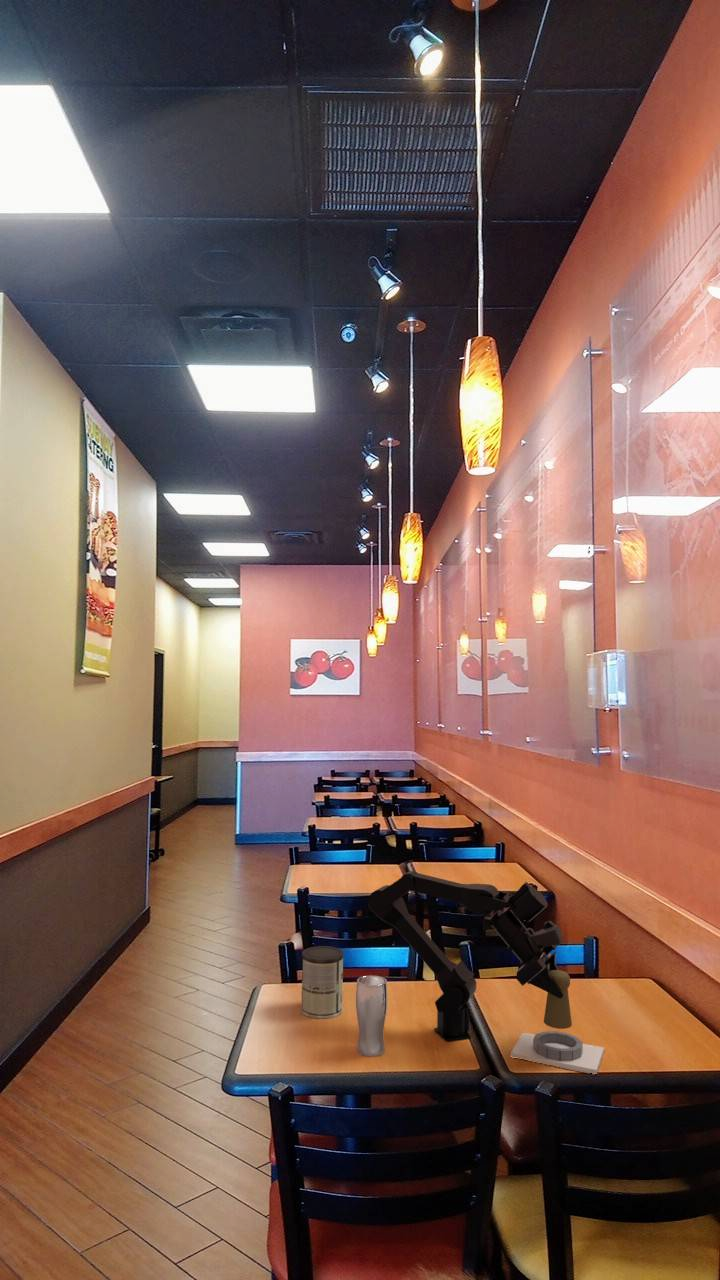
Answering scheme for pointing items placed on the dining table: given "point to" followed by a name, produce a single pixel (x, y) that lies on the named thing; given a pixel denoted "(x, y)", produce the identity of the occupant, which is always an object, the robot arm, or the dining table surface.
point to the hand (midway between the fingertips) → (564, 993)
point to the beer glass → (371, 1014)
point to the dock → (559, 1051)
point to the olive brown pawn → (558, 1003)
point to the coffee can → (322, 982)
